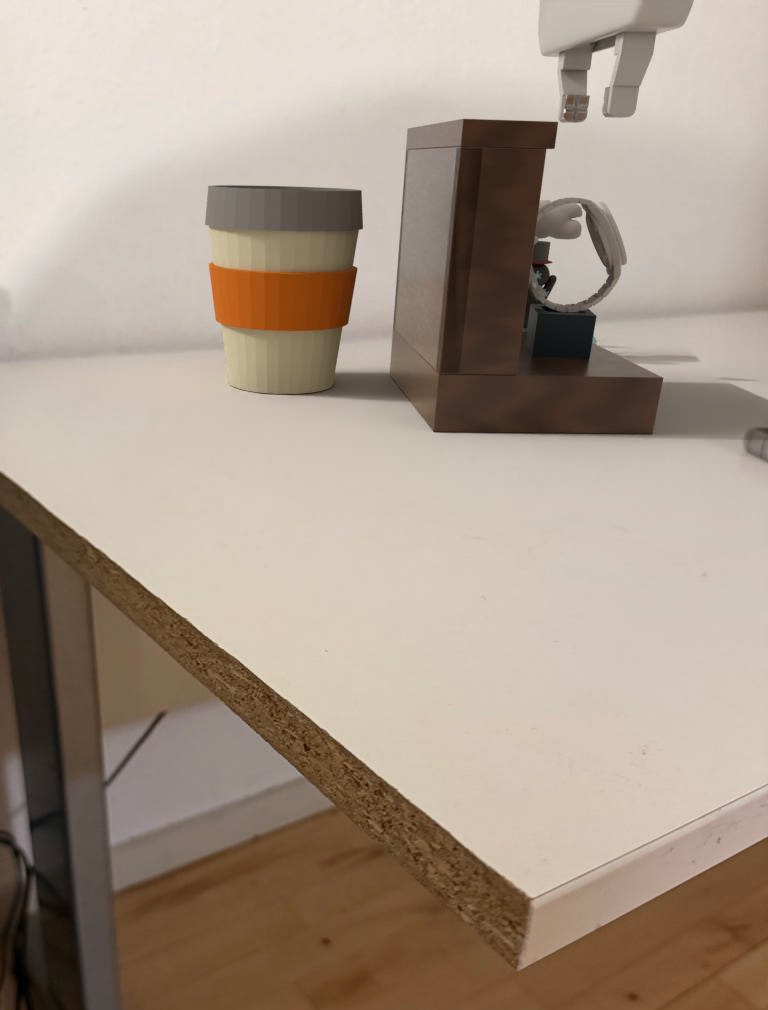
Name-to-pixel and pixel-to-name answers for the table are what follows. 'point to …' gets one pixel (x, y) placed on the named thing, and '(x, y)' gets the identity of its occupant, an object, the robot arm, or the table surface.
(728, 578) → the table surface
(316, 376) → the reusable coffee cup
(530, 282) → the watch
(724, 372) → the table surface
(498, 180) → the shelf
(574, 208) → the penguin figurine
